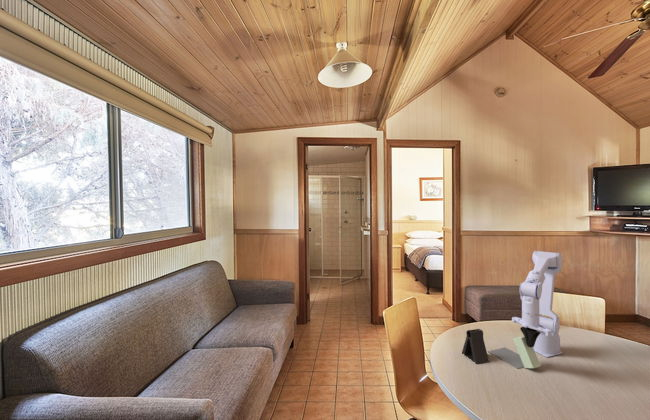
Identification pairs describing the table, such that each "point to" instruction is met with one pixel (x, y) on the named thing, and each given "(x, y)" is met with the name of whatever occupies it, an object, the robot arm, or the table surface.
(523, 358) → the sage block
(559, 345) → the robot arm
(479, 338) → the phone stand
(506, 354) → the mat
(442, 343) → the table surface
